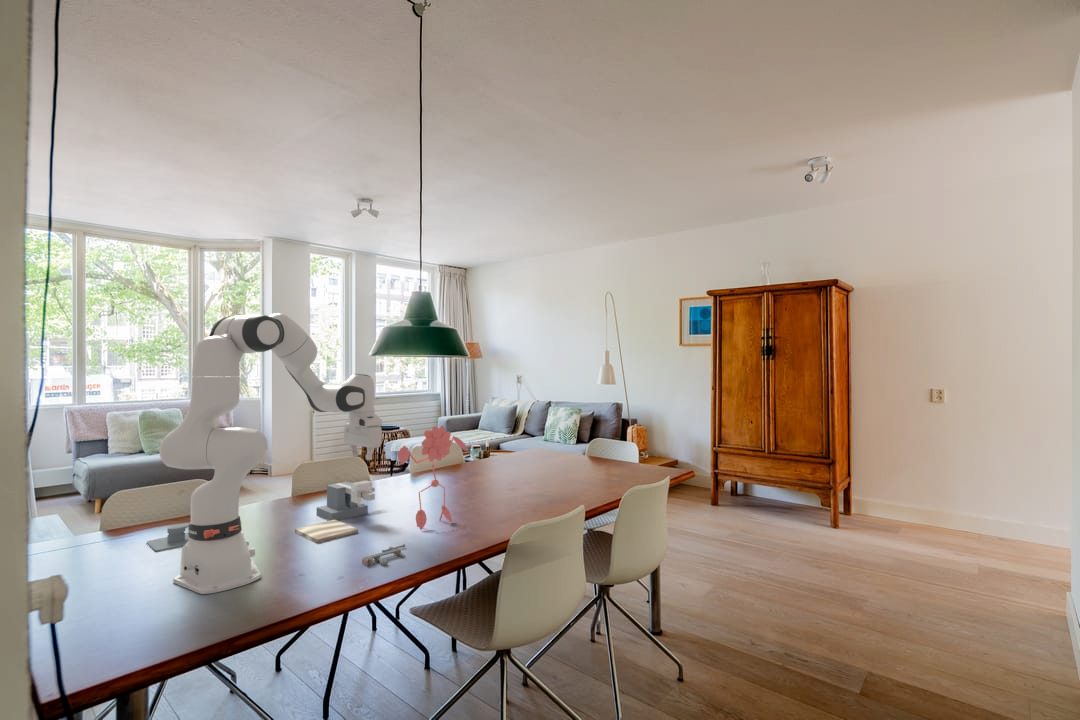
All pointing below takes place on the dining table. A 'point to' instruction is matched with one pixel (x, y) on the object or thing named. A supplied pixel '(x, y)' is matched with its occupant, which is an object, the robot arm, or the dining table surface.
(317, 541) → the ash board
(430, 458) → the pink stick figure
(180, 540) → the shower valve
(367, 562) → the clamp
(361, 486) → the white notched block
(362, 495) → the grey machinist vise
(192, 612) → the dining table surface
